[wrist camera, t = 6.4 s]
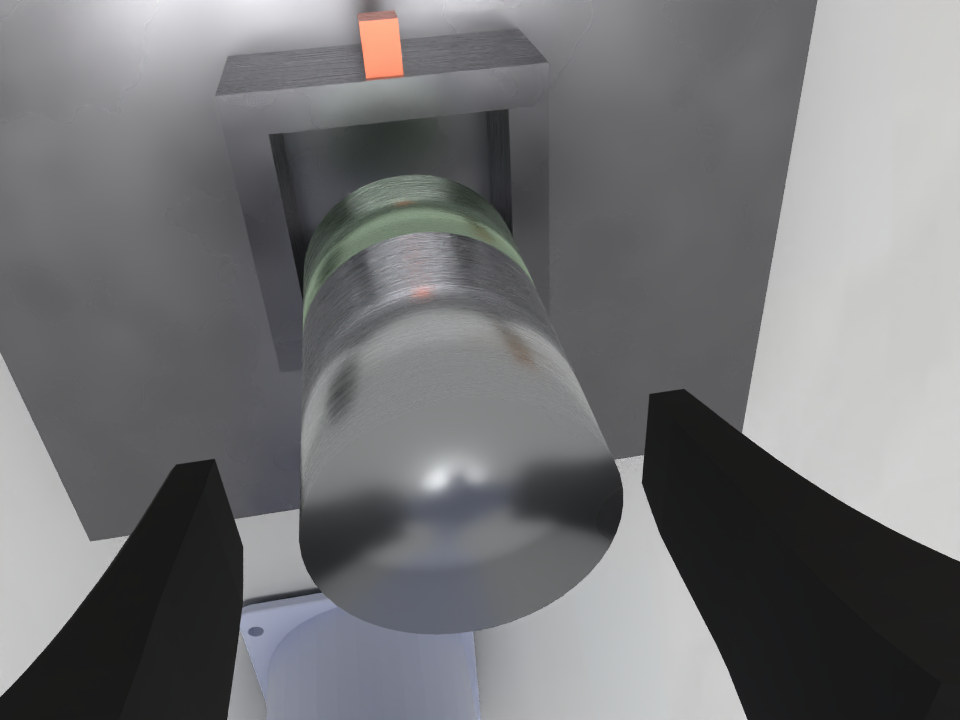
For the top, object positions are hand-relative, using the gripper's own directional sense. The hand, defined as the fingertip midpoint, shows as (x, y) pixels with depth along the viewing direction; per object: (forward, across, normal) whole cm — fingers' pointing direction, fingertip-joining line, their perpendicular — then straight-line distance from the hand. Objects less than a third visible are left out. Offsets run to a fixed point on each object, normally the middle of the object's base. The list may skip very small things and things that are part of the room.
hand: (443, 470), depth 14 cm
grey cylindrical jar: (+3, 0, -2) cm, 4 cm away
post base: (+9, 0, -2) cm, 9 cm away
